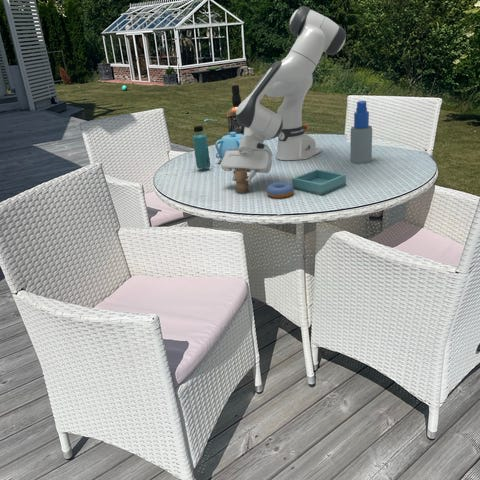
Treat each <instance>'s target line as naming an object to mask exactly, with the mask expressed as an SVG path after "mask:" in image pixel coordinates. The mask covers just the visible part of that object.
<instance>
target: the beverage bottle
mask: <svg viewBox="0 0 480 480" xmlns="http://www.w3.org/2000/svg"><path fill="white" fill-rule="evenodd" d="M203 131H204V127H203V125H197V126H193V132H194V135H193V136H192V141H193V147H194V156H195V157H194V158H195V164H196V167H197V169H200V170H203V169H209V168H210V167H211V158H210V152H209V145H208V137H207V134H206V133H203Z"/></svg>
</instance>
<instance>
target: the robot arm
mask: <svg viewBox="0 0 480 480" xmlns="http://www.w3.org/2000/svg"><path fill="white" fill-rule="evenodd" d="M288 28H289V32H290V34H292V35H293V37H294V38H295V37H297V38H296V39H295V42H294V43H293V45H292V46H291V49H289V52H288V54H287V55H286V57H284V58H283V59H282V60H276V61H274V62H273V63H272V64H271V65H270V66H269V67H268V69H267V70H266V71H265V72H264V74H263V75H262V76H261V77H260V79H259V80H258V81H257V83H256V84H255V85H254V87H253V88H252V89H251V91H250V92H249V94H247V96H246V97H245V98H244V99H243V100H241V104H240V105H239V106H238V108H237V110H236V118H237V121H238V123H239V125H242V126H244V127H245V128H244V135H243V137H242V139H241V142H240V145H239V149H229V150H227V151H226V152H225V155H224V157H223V160H222V159H221V162H220V167H221V169H223V171H225V172H231V174H232V177H231V180H232V181H233V182H236V178H235V171H237V170H247V173H250V174H249V175H247V176H246V182H248V183H251V181H252V179H253V178H254V177H255V176H256V175H257V173H258V174H259V173H261V174H268V173H269V172H270V171H271V169H272V164H273V158H272V157H273V151H272V150H271V148H270V147H269V145H267V143H266V144H265V143H264V142H265V141H270V140H273V139H276V138H277V148H276V149H277V151H276V157H275V158H276V159H277V160H281V161H297V160H307V159H309V158H311V157H315V155H317V154H319V153H321V152H322V150H321V149H320V148H318V147H317V145H316V141H315V139H314V138H313V137H311V136H310V135H308V134H307V133H306V131H307V130H309V129H310V128H309V127H310V126H309V125H306V124H305V125H303V118H302V117H303V116H302V115H303V112H302V111H303V105H304V100H305V98H306V95H307V93H308V91H309V90H310V88H311V87H312V86H313V82H314V81H313V73H314V71H315V69H316V68H317V66H318V64H319V62H320V60H321V57H322V56H323V53H324V54H325V55H328V56H329V55H330V56H333V55H336V54H337V53H339V52H340V51H341V50H342V48H343V47H344V45H345V43H346V37H347V32H346V29H344V28H343V26H341V25H338V24H337V23H336V22H335V21H333V20H332V19H330V18H329V17H327V16H324V15H323V14H321V13H319V12H318V11H316V10H312V9H311V8H310V7H308V6H306V5H302V6H300V7H298V8H297V9H295V10H294V12H293V13H292V15H291V17H290V20H289V26H288ZM265 95H266V96H267V97H269V98H278V99H279V98H283V97H284V98H283V101H282V103H281V105H280V106H279V107H278V108H277V111H276V112H275V111H273V110H271V109H269V108H268V107H265V106H264V105H263V104H261V102H260V101H262V99H263V97H265Z"/></svg>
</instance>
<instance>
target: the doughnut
mask: <svg viewBox="0 0 480 480" xmlns="http://www.w3.org/2000/svg"><path fill="white" fill-rule="evenodd" d="M294 192H295V189H293V185H292V184H291V183H290V182H286V181H276V182H272V183H270V184H269V185H268V186H267V187H266V194H267V195H268V196H269V197H270V198H273V199H285V198H289V197H290V196H292V195H293V194H294Z"/></svg>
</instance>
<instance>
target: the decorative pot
mask: <svg viewBox="0 0 480 480" xmlns="http://www.w3.org/2000/svg"><path fill="white" fill-rule="evenodd" d="M229 134H230V135H229ZM242 137H243V135H241V134H236V132H230V133H229V132H228V134H226V135H224V136H222V137H221V139H218V140H216V142H215V144H214V146H215V149H216V151H217V152H216V154H215V157H216V158H217V159H221V161H222V160H223V157H224V155H225V152H226V151H227V150H229V149H239V145H240V142H241V139H242ZM218 144H219V145H218Z"/></svg>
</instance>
